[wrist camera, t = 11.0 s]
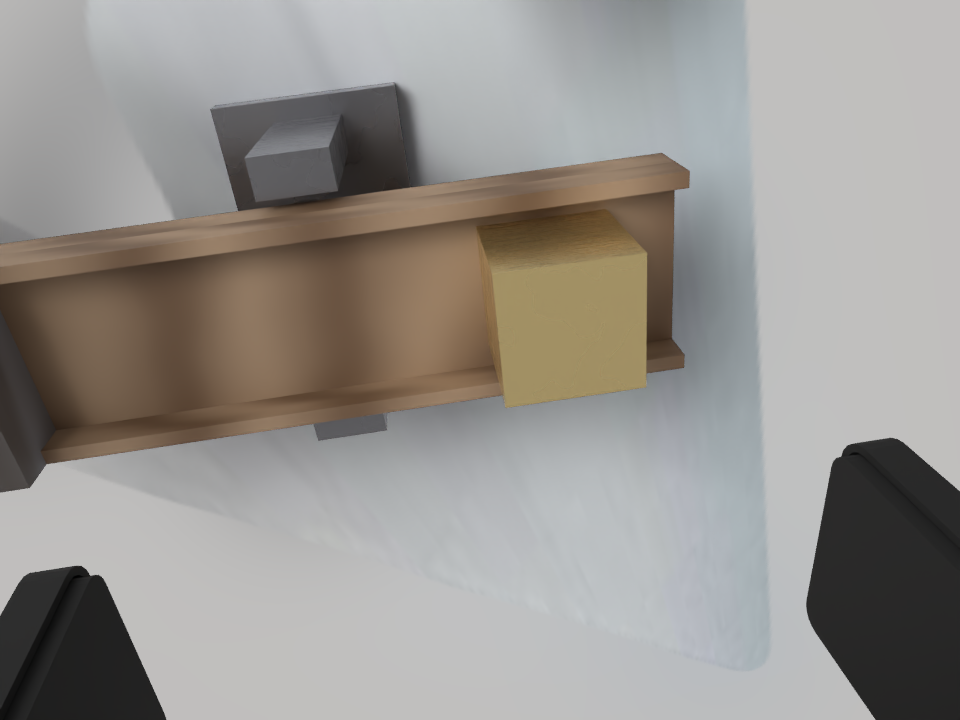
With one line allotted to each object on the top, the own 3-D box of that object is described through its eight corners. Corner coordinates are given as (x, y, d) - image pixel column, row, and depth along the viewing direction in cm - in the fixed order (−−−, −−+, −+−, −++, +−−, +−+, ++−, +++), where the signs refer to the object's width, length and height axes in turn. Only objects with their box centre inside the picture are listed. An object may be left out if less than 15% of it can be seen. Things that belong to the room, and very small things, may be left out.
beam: (23, 422, 31) (-40, 498, 27) (-62, 248, 28) (-152, 301, 23) (654, 328, 33) (698, 385, 28) (655, 149, 29) (705, 181, 24)
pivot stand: (289, 377, 39) (265, 465, 32) (215, 105, 32) (165, 141, 25) (437, 355, 39) (446, 438, 32) (394, 82, 33) (394, 111, 26)
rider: (475, 226, 27) (492, 274, 23) (606, 208, 28) (646, 253, 23) (488, 344, 30) (505, 407, 25) (608, 326, 30) (646, 387, 26)
